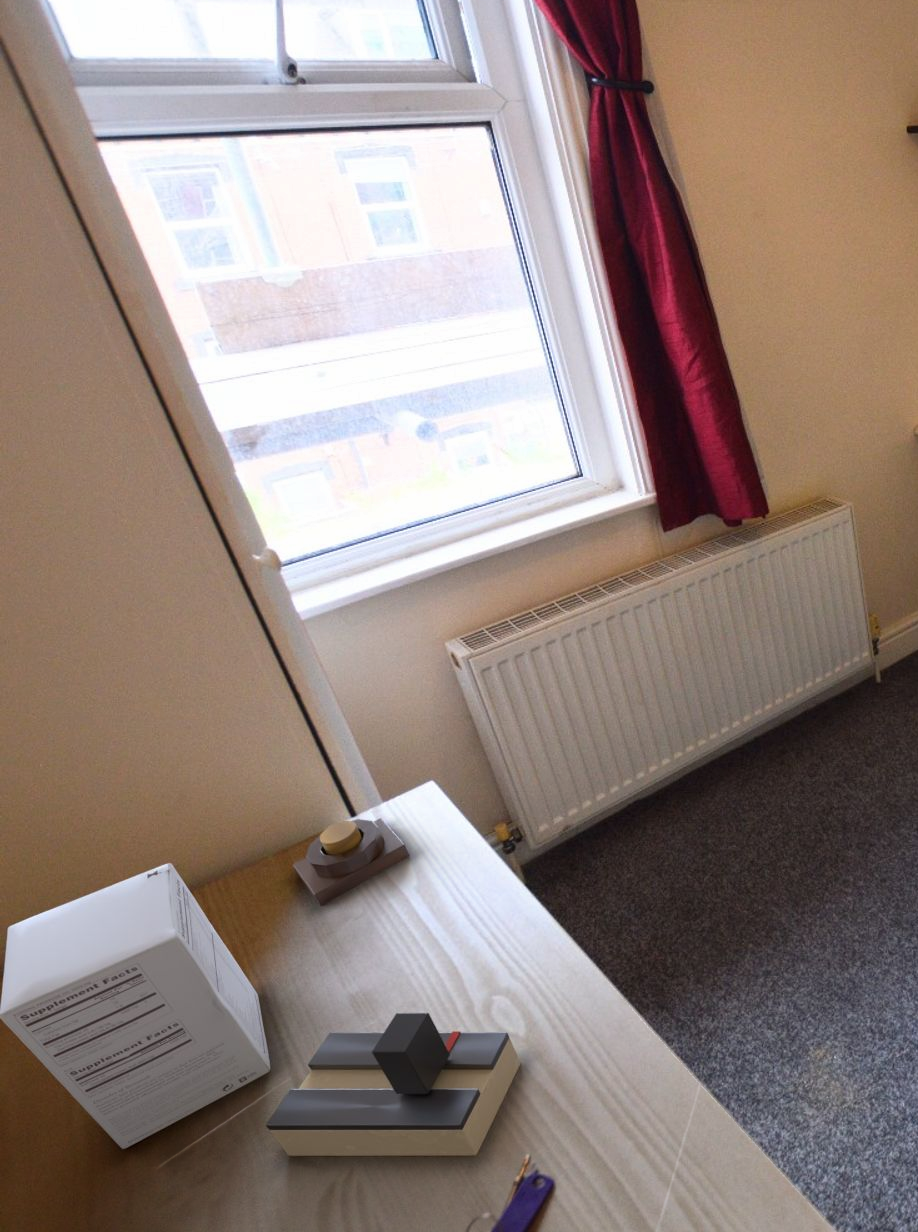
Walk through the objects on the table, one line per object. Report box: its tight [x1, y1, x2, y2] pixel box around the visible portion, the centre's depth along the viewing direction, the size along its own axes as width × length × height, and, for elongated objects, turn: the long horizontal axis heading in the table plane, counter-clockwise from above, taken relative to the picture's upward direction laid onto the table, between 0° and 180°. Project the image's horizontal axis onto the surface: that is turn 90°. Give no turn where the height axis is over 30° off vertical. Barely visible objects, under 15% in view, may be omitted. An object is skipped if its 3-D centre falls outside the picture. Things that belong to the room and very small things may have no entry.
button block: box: [292, 817, 411, 907], centre depth 87 cm, size 8×6×4 cm
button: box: [319, 820, 362, 856], centre depth 86 cm, size 3×3×2 cm
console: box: [265, 1030, 521, 1157], centre depth 66 cm, size 14×7×4 cm, turn 90°
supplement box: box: [0, 862, 271, 1150], centre depth 66 cm, size 10×9×17 cm
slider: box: [372, 1012, 450, 1094], centre depth 64 cm, size 2×3×6 cm
